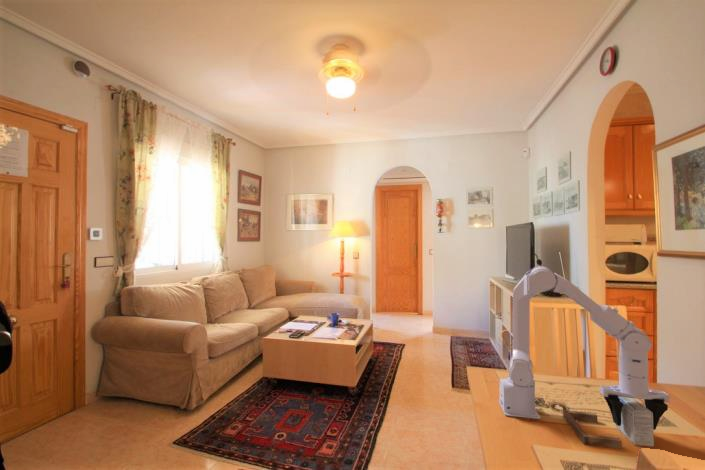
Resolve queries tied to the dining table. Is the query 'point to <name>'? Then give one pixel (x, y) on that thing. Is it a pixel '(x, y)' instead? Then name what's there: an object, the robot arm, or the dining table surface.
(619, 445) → the walnut u-shaped bracket
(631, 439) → the medicine box
